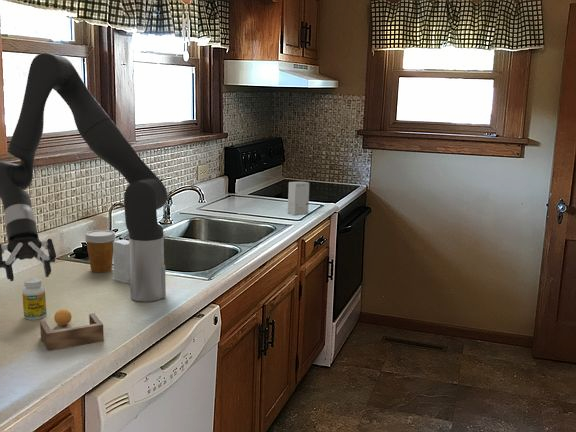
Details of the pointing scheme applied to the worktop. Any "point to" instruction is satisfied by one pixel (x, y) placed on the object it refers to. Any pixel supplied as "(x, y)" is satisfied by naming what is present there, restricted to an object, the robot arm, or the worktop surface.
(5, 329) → the worktop surface
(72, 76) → the robot arm
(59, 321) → the ball
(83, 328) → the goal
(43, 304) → the supplement bottle
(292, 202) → the skincare box
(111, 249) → the disposable coffee cup
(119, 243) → the skincare box
